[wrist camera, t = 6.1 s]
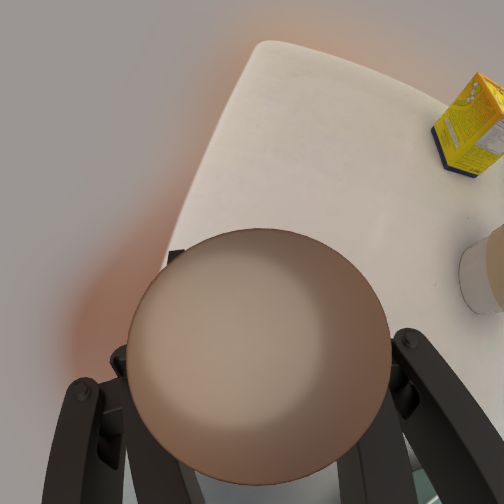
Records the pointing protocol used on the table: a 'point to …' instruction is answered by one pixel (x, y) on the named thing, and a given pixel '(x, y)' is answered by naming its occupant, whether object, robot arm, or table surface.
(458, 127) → the supplement box
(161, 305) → the tall brown cylinder
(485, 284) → the coffee cup
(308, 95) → the table surface
